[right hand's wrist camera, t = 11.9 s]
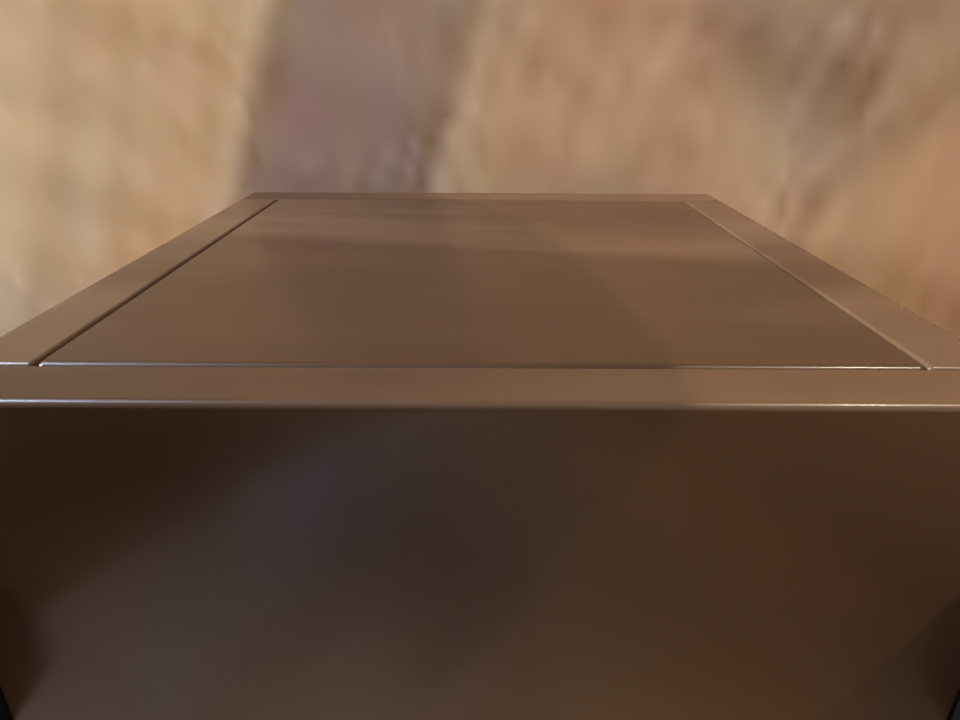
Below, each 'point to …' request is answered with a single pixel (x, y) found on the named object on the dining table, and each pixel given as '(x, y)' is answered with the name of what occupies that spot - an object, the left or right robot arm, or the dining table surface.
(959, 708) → the right robot arm
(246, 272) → the cabinet
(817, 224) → the dining table surface
